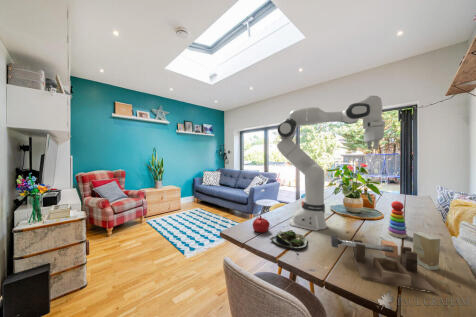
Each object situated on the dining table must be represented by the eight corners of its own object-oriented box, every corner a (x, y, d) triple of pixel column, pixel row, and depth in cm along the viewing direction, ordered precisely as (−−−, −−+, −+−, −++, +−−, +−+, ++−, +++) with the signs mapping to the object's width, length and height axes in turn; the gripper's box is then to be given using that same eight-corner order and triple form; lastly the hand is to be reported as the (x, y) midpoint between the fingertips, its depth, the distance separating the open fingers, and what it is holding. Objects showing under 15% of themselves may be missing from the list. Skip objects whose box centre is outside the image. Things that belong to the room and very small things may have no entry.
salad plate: (278, 230, 105) (277, 222, 105) (309, 236, 97) (309, 228, 97) (267, 245, 88) (267, 235, 88) (304, 254, 80) (304, 243, 80)
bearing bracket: (361, 278, 63) (361, 256, 63) (352, 257, 76) (352, 239, 76) (436, 293, 56) (436, 269, 56) (411, 267, 69) (411, 247, 69)
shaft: (331, 246, 75) (331, 238, 75) (330, 242, 78) (330, 235, 78) (394, 256, 67) (394, 247, 67) (390, 252, 71) (390, 243, 71)
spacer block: (384, 255, 77) (384, 244, 77) (381, 250, 81) (381, 239, 81) (397, 257, 76) (397, 246, 76) (393, 252, 80) (393, 241, 80)
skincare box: (412, 260, 73) (412, 231, 73) (421, 260, 74) (421, 231, 73) (430, 270, 67) (430, 239, 67) (440, 270, 67) (440, 238, 67)
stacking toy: (411, 239, 92) (411, 203, 91) (393, 238, 93) (393, 203, 93) (400, 232, 99) (400, 200, 99) (384, 231, 101) (384, 199, 101)
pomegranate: (264, 236, 98) (264, 220, 97) (249, 231, 104) (249, 216, 103) (272, 229, 106) (272, 214, 105) (258, 225, 112) (258, 211, 111)
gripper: (360, 128, 111) (360, 149, 111) (371, 122, 91) (371, 148, 92) (372, 127, 108) (372, 149, 108) (386, 121, 89) (386, 148, 89)
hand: (372, 149), depth 100 cm, fingers open, 8 cm apart
